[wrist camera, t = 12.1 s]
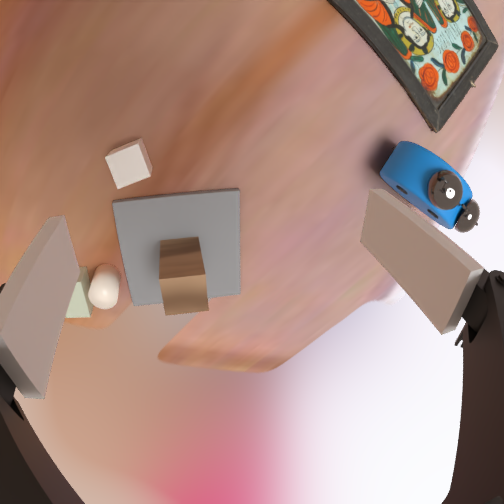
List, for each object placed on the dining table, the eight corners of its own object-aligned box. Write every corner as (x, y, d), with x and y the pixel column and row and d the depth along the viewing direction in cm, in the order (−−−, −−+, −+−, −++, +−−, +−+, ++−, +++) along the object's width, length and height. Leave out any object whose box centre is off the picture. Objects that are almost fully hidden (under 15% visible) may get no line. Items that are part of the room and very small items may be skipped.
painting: (377, -102, 20) (385, -106, 18) (492, 44, 37) (502, 45, 34) (276, -32, 27) (282, -38, 25) (433, 136, 43) (443, 139, 41)
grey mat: (113, 200, 37) (112, 203, 36) (238, 188, 40) (239, 190, 39) (134, 301, 45) (133, 306, 44) (239, 290, 48) (240, 294, 47)
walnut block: (160, 240, 40) (159, 279, 33) (198, 236, 41) (205, 274, 34) (165, 272, 43) (165, 315, 35) (200, 268, 44) (208, 310, 36)
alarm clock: (429, 177, 46) (494, 214, 34) (410, 206, 48) (471, 249, 36) (383, 131, 41) (458, 159, 28) (361, 164, 43) (430, 203, 30)
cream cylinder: (91, 265, 40) (84, 285, 36) (118, 262, 41) (113, 282, 37) (98, 288, 42) (92, 310, 38) (123, 286, 43) (120, 307, 39)
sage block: (62, 267, 40) (54, 283, 36) (86, 266, 40) (80, 281, 37) (71, 300, 42) (65, 317, 39) (94, 300, 43) (90, 317, 40)
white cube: (111, 150, 34) (104, 157, 31) (141, 137, 34) (138, 143, 31) (123, 179, 36) (118, 189, 33) (152, 167, 36) (150, 176, 33)
